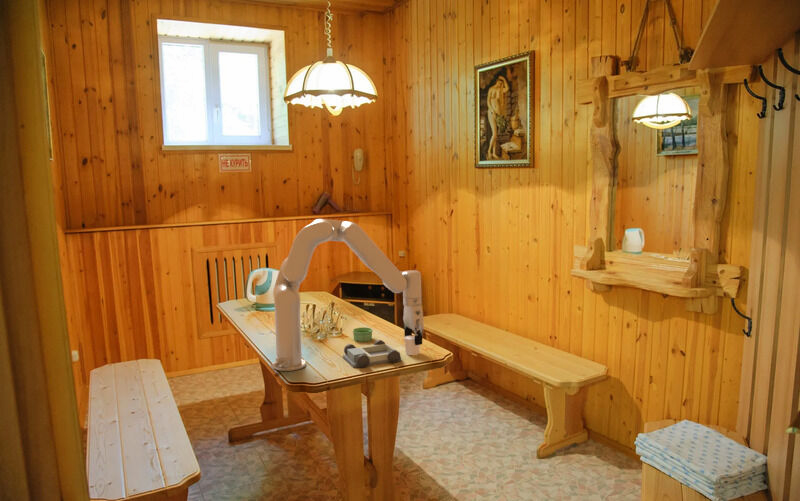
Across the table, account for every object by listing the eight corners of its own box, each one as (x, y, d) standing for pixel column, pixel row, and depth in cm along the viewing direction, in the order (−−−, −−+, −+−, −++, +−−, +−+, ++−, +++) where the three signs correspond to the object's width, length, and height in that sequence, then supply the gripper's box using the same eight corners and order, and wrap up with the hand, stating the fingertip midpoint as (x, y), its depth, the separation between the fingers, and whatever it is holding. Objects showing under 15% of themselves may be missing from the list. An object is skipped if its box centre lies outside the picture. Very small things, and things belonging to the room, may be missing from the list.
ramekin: (359, 343, 244) (359, 333, 243) (349, 338, 251) (348, 329, 251) (376, 339, 249) (376, 330, 249) (365, 335, 256) (365, 326, 256)
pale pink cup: (419, 356, 225) (419, 340, 224) (402, 355, 226) (402, 339, 226) (421, 351, 232) (421, 335, 231) (405, 350, 233) (405, 334, 232)
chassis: (355, 369, 211) (354, 357, 210) (341, 356, 226) (341, 345, 225) (403, 361, 219) (402, 349, 218) (386, 349, 234) (386, 338, 233)
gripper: (430, 304, 220) (431, 345, 222) (411, 295, 236) (412, 334, 238) (413, 306, 217) (414, 348, 219) (395, 297, 232) (396, 337, 235)
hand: (413, 341), depth 229 cm, fingers open, 9 cm apart
